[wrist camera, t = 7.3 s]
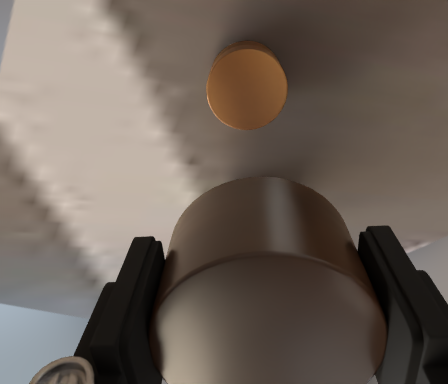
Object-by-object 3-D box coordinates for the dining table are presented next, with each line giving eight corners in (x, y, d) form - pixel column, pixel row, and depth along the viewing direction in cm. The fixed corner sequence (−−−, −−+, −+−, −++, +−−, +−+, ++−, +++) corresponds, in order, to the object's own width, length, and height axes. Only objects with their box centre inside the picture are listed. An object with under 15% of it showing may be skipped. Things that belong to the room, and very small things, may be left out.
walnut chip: (321, 147, 11) (356, 217, 7) (368, 294, 13) (410, 396, 10) (138, 212, 12) (101, 296, 9) (212, 336, 14) (204, 439, 11)
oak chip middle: (269, 31, 29) (272, 34, 27) (294, 105, 32) (298, 113, 30) (196, 62, 30) (193, 68, 28) (225, 131, 33) (224, 141, 31)
